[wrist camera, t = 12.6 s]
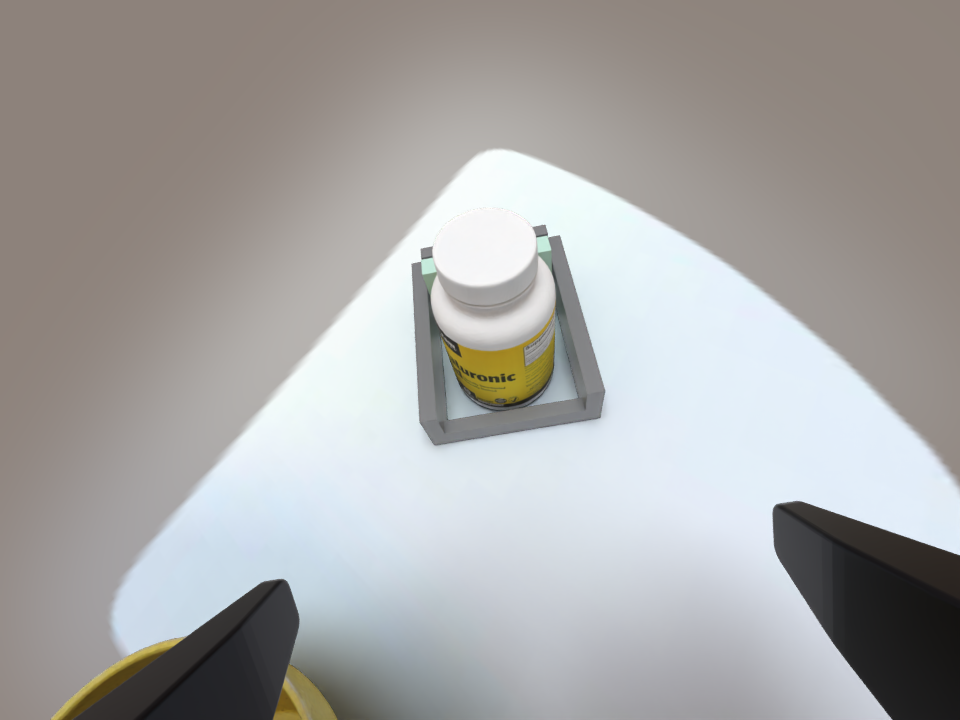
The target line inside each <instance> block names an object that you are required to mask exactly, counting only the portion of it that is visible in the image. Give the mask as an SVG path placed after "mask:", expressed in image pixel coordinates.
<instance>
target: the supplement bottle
mask: <svg viewBox="0 0 960 720" xmlns="http://www.w3.org/2000/svg"><path fill="white" fill-rule="evenodd" d="M432 255H433V261H434V265H435V268H436V271H437V276H436V278H435V280H434V283H433V286H432V291H431V306H432V310H433V314H434V318H435V321H436V324H437V326H438V329H439V331H440V334H441V337H442V339H443V342H444V345H445V348H446V351H447V353H448V356H449V358H450V362H451V364H452V367H453V370H454V372H455V375H456V377H457V380H458V382H459V384H460V386H461V388H462V389H463V391H464V392H465V393H466V395H467V396H468V397H469V398H471V399H472V400H473V401H475V402H476V403H478V404H479V405H481V406H484V407H487V408H490V409H495V410H512V409H517V408H520V407H523V406H525V405H527V404H529V403H531V402H532V401H534V400H535V399H536V398H538V397H539V396H540V395H541V394H542V393H543V392H544V390H545V389H546V387H547V386H548V384H549V382H550V380H551V377H552V374H553V369H554V352H555V348H554V347H555V305H556V293H555V283H554V279H553V276H552V274H551V271H550V269H549V268H548V266H547V265H546V263H545V262H544V261H543V260H542V258H541V257H539V256H538V246H537V238H536V234H535V232H534V230H533V228H532V226H531V225H530V223H529V222H528V221H527V220H525V219H524V218H523V217H521V216H520V215H518V214H516V213H514V212H512V211H509V210H505V209H500V208H480V209H475V210H471V211H468V212H465V213H462V214H460V215H458V216H456V217H455V218H453V219H452V220H450V221H449V222H448V223H447V224H445V225H444V227H443V228H442V229H441V230H440V231H439V233H438V235H437V236H436V238H435V241H434V244H433V249H432Z"/></svg>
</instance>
